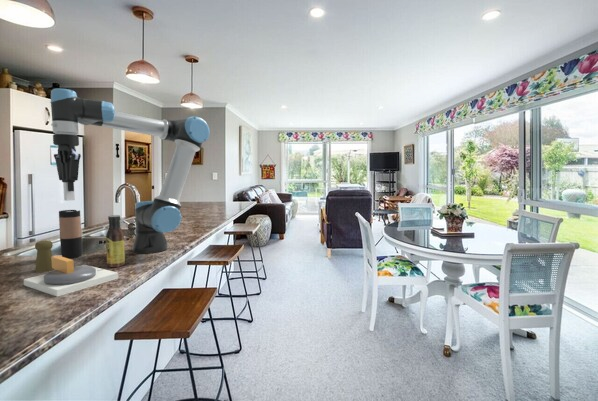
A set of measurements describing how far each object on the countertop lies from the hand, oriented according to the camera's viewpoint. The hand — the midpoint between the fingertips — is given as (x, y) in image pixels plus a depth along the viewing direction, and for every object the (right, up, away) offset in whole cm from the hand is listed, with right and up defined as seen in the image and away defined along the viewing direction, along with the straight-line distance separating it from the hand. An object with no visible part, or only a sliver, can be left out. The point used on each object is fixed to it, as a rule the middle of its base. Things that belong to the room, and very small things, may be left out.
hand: (69, 200), depth 119 cm
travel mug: (-15, -25, +22) cm, 36 cm away
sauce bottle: (+12, -26, +10) cm, 30 cm away
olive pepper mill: (-12, -26, +4) cm, 29 cm away
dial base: (+7, -27, -9) cm, 30 cm away
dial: (+7, -25, -10) cm, 28 cm away
